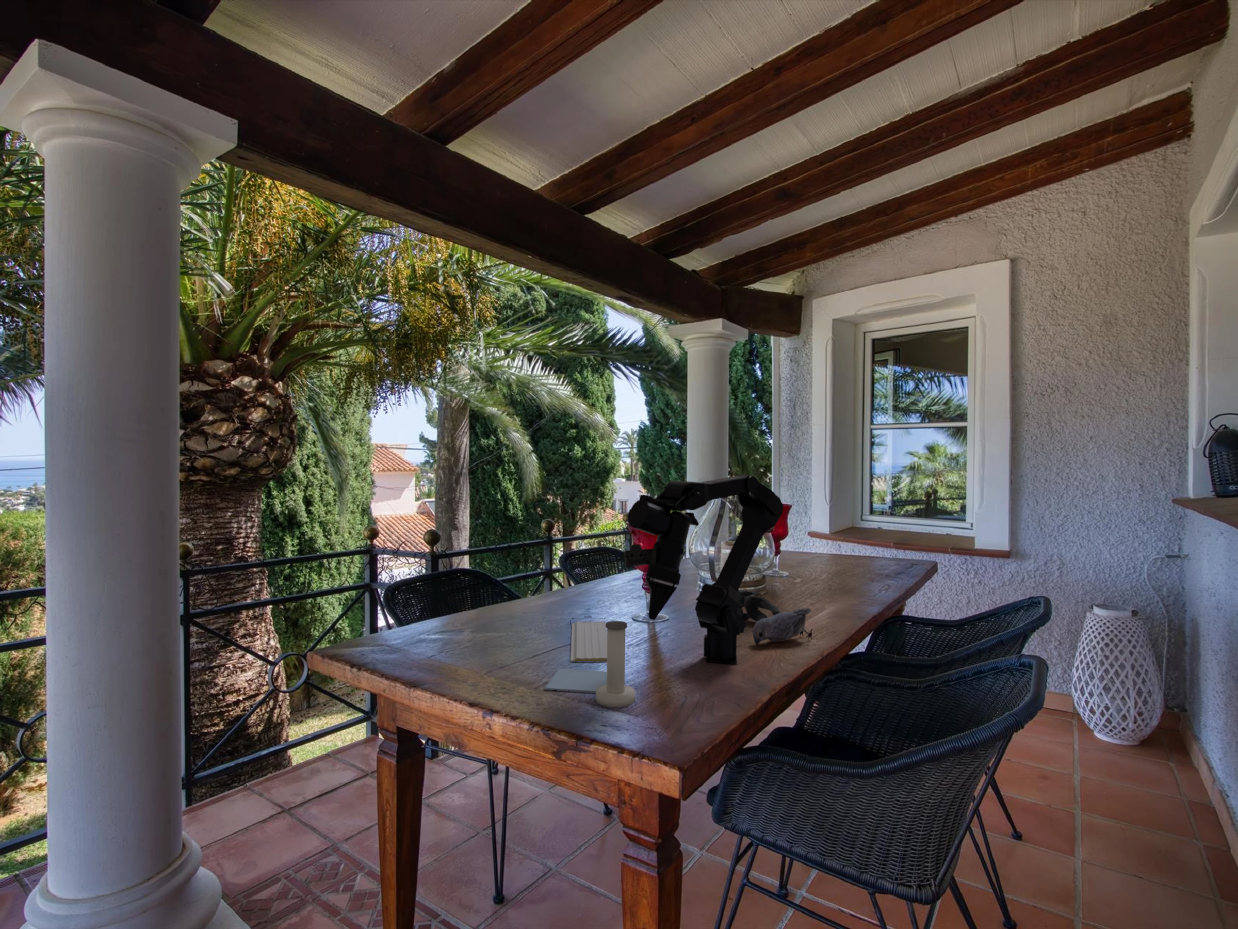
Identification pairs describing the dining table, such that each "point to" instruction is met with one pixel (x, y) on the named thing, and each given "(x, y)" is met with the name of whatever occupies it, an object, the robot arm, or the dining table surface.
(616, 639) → the paper towel holder
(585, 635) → the baseboard
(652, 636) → the dining table surface
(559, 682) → the felt pad
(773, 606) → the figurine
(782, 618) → the bird
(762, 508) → the robot arm
